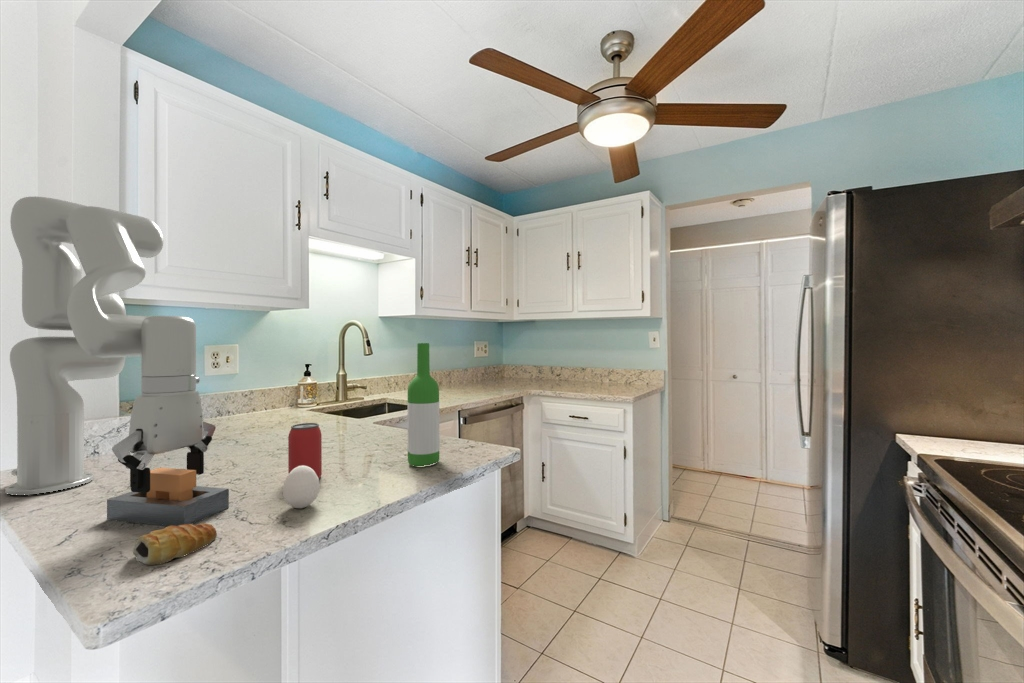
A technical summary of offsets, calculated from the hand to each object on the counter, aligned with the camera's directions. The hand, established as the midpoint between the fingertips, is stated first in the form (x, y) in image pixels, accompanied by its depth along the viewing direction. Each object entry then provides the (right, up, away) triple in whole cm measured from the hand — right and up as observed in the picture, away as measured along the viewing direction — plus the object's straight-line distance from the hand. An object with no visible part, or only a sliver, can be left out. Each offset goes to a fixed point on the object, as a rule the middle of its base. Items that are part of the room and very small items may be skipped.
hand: (169, 482), depth 75 cm
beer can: (+15, -6, +18) cm, 24 cm away
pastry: (+11, -6, -13) cm, 19 cm away
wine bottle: (+39, -6, +30) cm, 49 cm away
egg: (+22, -6, +3) cm, 23 cm away
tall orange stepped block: (0, -6, 0) cm, 6 cm away
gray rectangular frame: (0, -6, 0) cm, 6 cm away
